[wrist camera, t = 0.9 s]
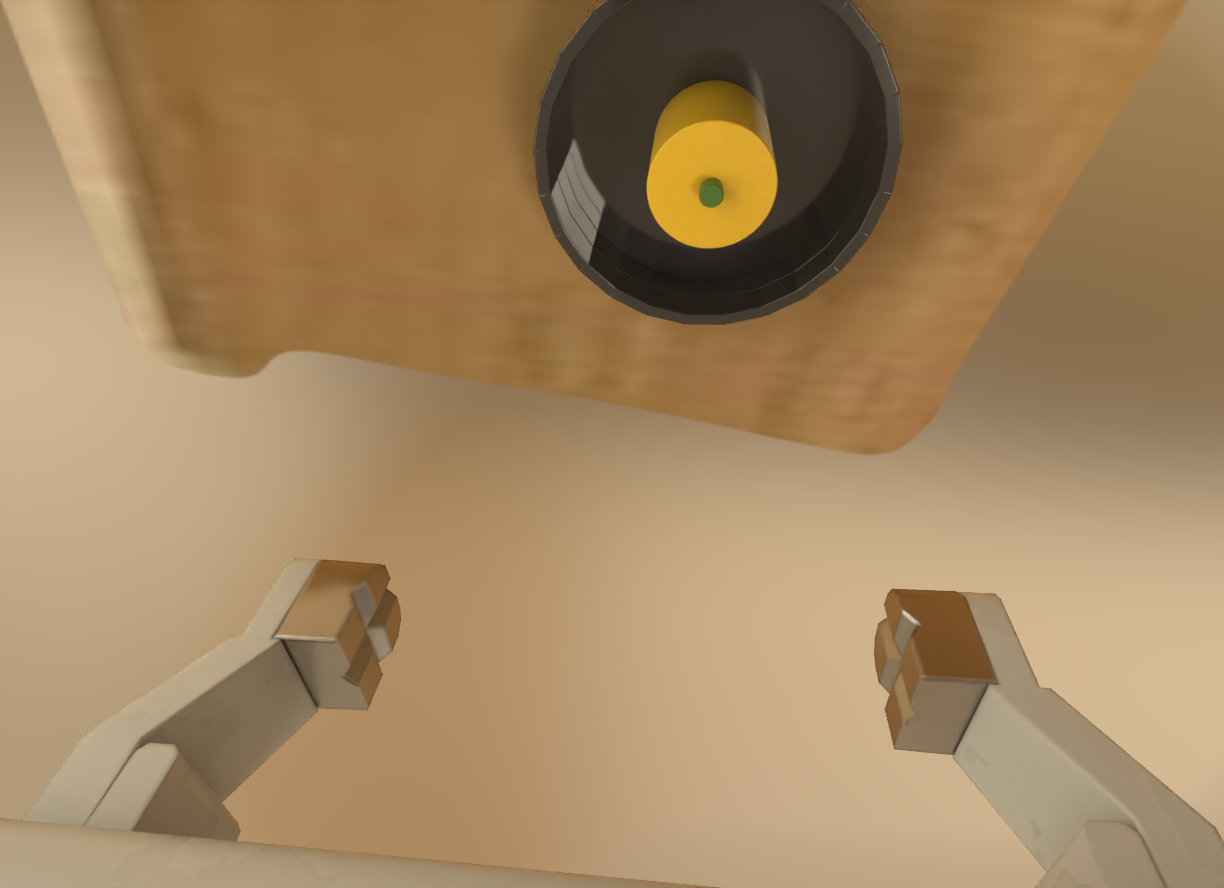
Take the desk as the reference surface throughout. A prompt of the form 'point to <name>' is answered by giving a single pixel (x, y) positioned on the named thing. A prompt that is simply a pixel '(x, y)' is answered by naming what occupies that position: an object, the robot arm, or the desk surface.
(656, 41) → the pan
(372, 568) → the robot arm
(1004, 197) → the desk surface
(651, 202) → the yellow pepper
